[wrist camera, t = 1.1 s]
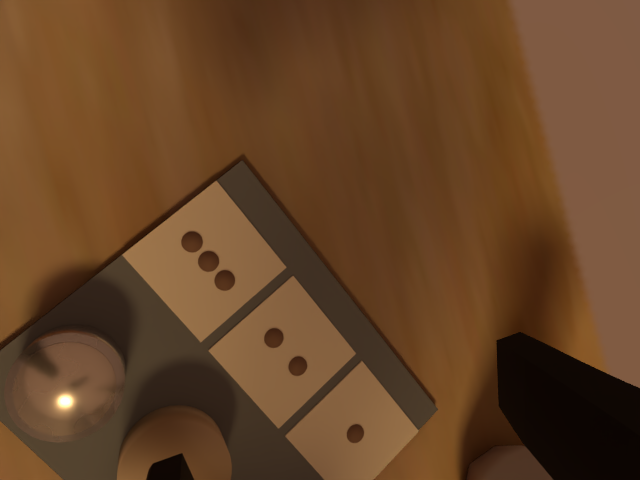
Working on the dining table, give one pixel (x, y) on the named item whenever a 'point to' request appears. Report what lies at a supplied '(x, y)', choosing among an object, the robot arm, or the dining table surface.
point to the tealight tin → (66, 384)
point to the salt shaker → (507, 465)
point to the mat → (238, 347)
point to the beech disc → (175, 444)
